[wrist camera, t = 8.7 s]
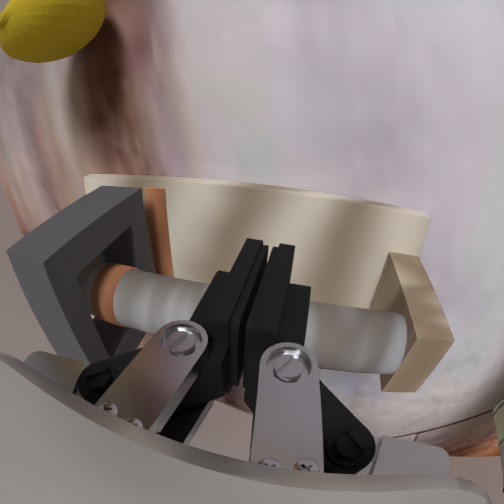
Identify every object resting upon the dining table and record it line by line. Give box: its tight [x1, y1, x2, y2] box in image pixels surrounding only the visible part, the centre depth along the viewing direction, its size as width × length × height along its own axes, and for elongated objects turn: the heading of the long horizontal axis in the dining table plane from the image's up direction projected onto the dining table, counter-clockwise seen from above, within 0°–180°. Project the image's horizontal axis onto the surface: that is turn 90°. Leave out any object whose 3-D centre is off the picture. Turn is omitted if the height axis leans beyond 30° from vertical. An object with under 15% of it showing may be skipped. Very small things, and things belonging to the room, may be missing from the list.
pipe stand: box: [76, 174, 454, 392], centre depth 15 cm, size 22×9×8 cm, turn 86°
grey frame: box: [7, 186, 153, 365], centre depth 14 cm, size 3×9×8 cm, turn 176°
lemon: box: [0, 0, 106, 63], centre depth 8 cm, size 6×6×8 cm
